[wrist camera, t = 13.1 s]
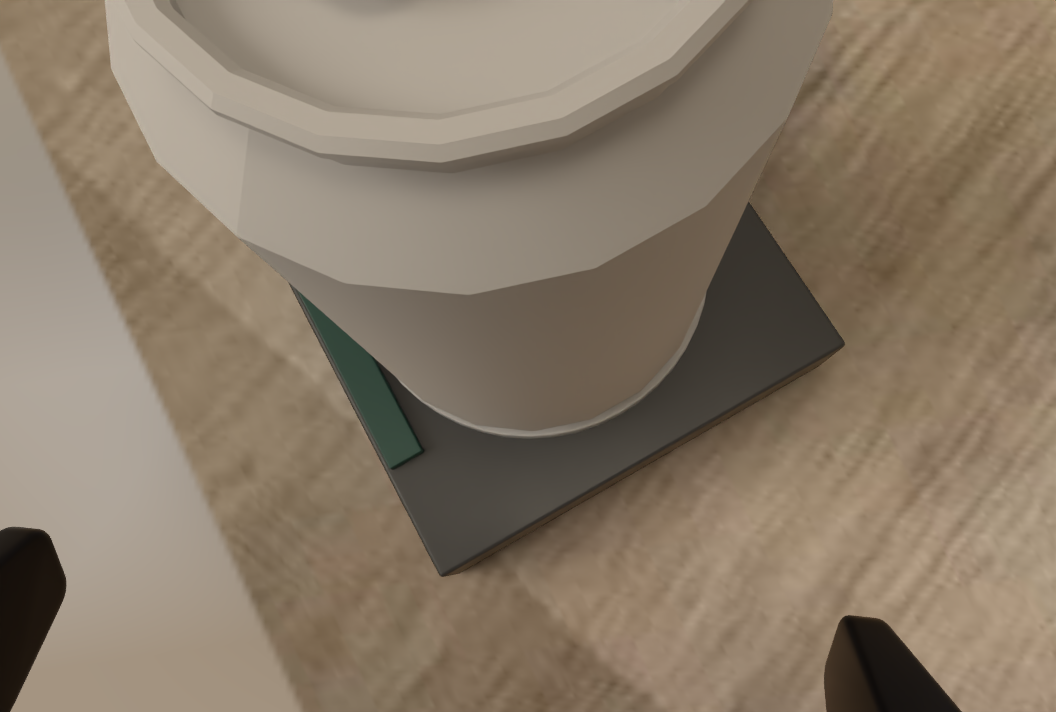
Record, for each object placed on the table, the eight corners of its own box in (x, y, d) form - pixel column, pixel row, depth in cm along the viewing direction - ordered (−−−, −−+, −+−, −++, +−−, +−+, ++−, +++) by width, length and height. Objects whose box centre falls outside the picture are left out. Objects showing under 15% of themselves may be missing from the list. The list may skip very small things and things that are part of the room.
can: (765, 216, 18) (1075, -353, 7) (579, 506, 17) (563, 426, 6) (484, 57, 20) (336, -651, 8) (294, 317, 19) (-195, -66, 7)
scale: (456, 574, 20) (436, 579, 17) (276, 229, 22) (236, 188, 19) (820, 365, 20) (853, 339, 18) (607, 48, 22) (610, -15, 20)
